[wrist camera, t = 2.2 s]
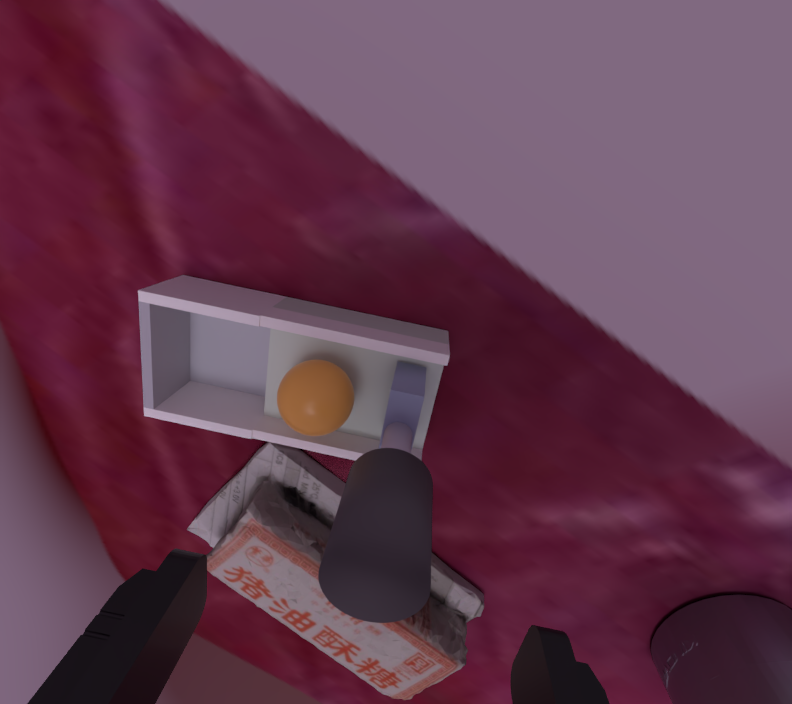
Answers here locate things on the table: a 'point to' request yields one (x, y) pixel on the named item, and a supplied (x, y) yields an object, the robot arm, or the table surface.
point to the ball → (315, 397)
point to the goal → (204, 353)
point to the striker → (384, 519)
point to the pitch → (348, 370)
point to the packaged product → (299, 565)
